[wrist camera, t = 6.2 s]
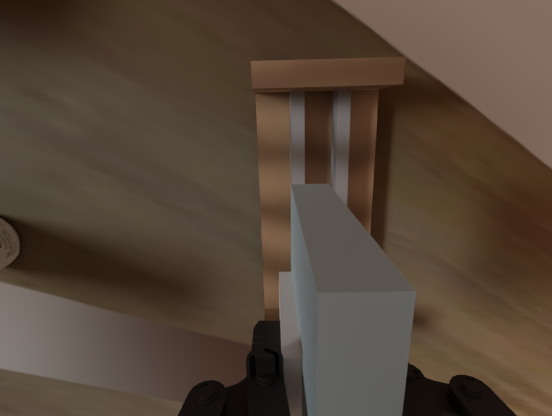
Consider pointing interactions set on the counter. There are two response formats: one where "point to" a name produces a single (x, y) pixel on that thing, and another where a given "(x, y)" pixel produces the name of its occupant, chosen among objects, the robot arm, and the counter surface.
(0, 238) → the spray can
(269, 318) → the wooden frame
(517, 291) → the counter surface
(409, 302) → the door panel
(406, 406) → the robot arm
